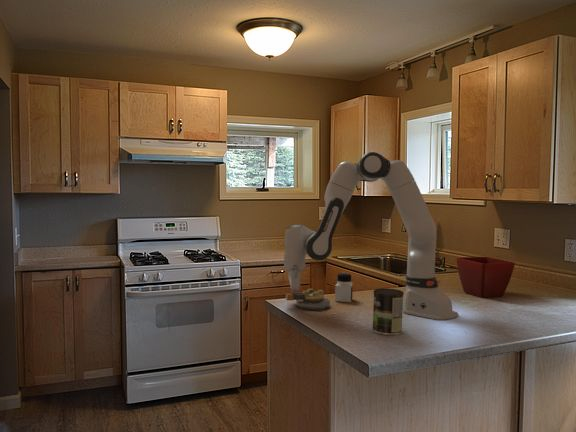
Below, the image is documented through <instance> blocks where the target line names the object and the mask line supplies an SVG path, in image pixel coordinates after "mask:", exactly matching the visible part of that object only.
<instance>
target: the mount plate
mask: <svg viewBox="0 0 576 432" xmlns="http://www.w3.org/2000/svg"><path fill="white" fill-rule="evenodd" d="M295 301H296V302H295V303H296V305H295V306H296V308H297V309H301V310H305V311H323V310H324V311H325V310H328V309H330V305H331V301H330V299H328V298H326V297H324V300H323V301H320V302H308V301H304V300H302V299H300V300H295Z"/></svg>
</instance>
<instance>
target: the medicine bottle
mask: <svg viewBox="0 0 576 432" xmlns="http://www.w3.org/2000/svg"><path fill="white" fill-rule="evenodd" d="M336 280H337V281H336V282H337V283H336V284H335V285H334V301H335V302H341V303H352V300H353V293H354V292H353V291H354V290H353V287H354V286H353V285H354V284H353V282H352V274H351V273H348V272H340V273H337V279H336Z"/></svg>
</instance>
